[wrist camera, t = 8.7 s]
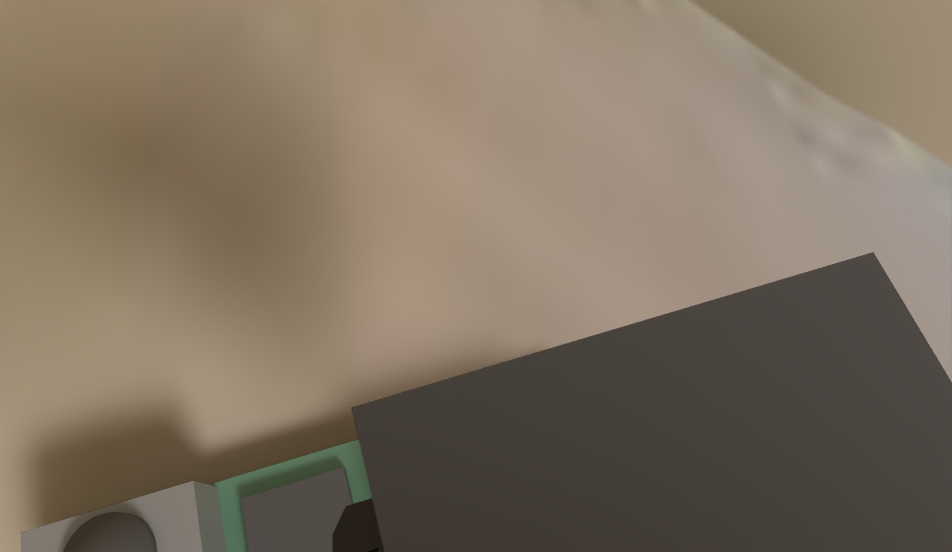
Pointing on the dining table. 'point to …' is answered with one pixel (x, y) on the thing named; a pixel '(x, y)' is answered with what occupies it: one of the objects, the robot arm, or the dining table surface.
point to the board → (224, 512)
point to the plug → (685, 434)
